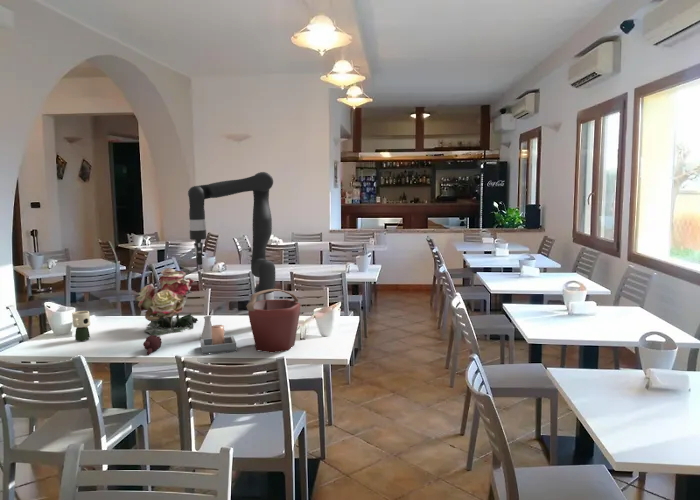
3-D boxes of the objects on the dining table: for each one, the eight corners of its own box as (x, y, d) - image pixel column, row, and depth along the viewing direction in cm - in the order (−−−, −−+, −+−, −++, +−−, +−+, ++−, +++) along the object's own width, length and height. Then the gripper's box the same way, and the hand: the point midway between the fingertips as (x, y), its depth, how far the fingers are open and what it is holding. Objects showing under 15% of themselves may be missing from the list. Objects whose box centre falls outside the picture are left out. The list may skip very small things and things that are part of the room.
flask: (212, 340, 259) (211, 318, 257) (197, 339, 260) (196, 318, 259) (219, 336, 266) (218, 315, 264) (204, 335, 267) (203, 314, 266)
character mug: (85, 343, 257) (82, 315, 255) (69, 343, 257) (67, 315, 255) (95, 336, 267) (94, 309, 266) (80, 337, 267) (78, 309, 266)
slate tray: (233, 343, 252) (233, 336, 252) (236, 351, 241) (236, 343, 241) (200, 346, 248) (200, 339, 248) (202, 354, 237) (201, 346, 237)
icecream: (149, 331, 251) (134, 344, 237) (164, 327, 250) (151, 339, 236) (154, 345, 252) (140, 359, 238) (170, 341, 252) (156, 355, 237)
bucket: (251, 357, 233) (249, 297, 230) (239, 343, 253) (237, 287, 250) (308, 349, 242) (307, 291, 239) (292, 336, 263) (291, 283, 260)
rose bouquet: (137, 325, 288) (134, 266, 284) (197, 320, 297) (194, 262, 294) (136, 338, 264) (132, 274, 260) (201, 332, 273) (198, 270, 270)
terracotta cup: (224, 344, 248) (223, 324, 246) (224, 348, 243) (224, 327, 241) (212, 345, 246) (211, 325, 245) (212, 349, 241) (211, 328, 240)
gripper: (207, 230, 261) (208, 265, 263) (205, 227, 274) (206, 261, 276) (189, 230, 259) (191, 266, 261) (188, 228, 272) (190, 262, 274)
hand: (199, 263), depth 269 cm, fingers open, 8 cm apart
